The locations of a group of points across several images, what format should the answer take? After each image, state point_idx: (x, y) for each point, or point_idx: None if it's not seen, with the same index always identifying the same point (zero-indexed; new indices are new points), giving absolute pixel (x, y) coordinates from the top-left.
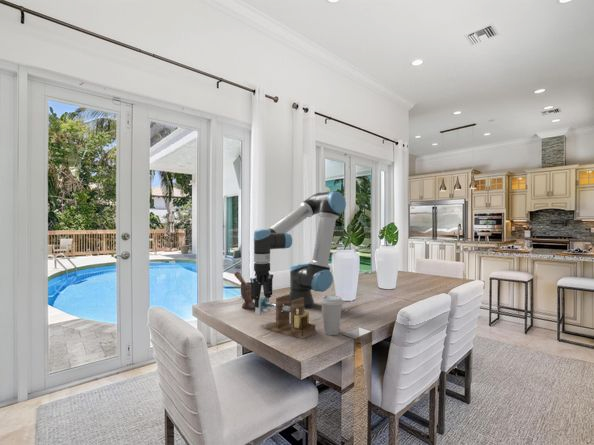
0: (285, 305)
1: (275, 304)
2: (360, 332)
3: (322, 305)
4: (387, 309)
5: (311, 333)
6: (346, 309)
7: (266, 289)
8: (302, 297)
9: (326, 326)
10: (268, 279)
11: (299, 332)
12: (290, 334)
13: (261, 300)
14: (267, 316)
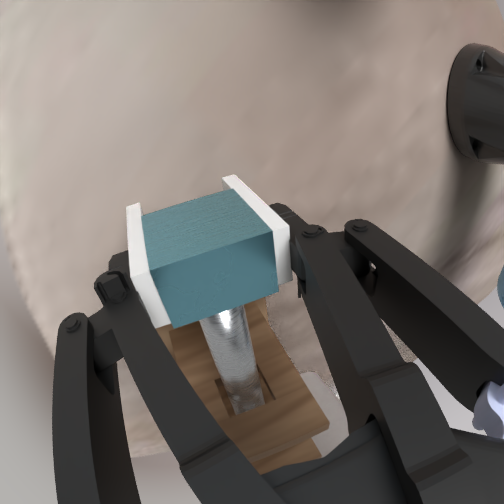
0: (271, 393)
1: (232, 381)
2: (337, 395)
3: None
4: (480, 294)
5: None
6: (473, 249)
7: (325, 346)
8: (321, 456)
9: None
10: (478, 375)
11: None
12: None
13: (179, 321)
14: (283, 100)
